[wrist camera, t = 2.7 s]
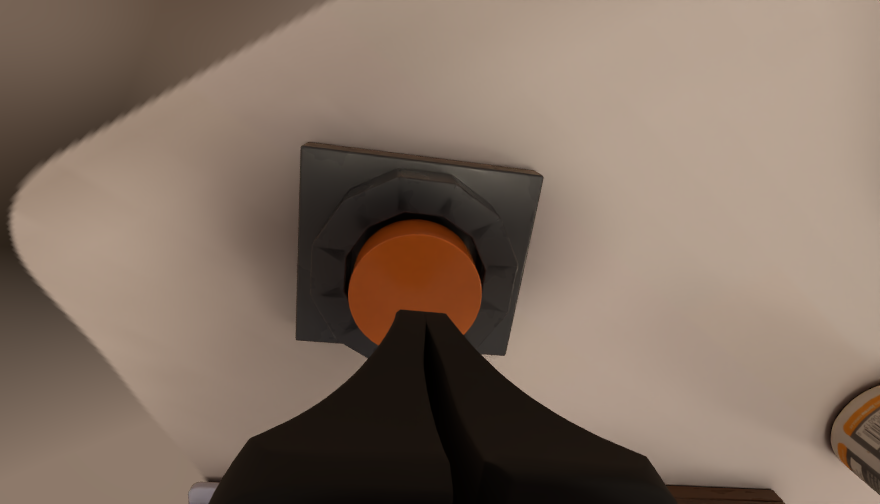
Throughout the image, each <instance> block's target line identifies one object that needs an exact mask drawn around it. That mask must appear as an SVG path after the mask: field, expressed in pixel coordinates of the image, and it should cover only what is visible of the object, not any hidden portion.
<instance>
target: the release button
mask: <svg viewBox="0 0 880 504" xmlns="http://www.w3.org/2000/svg"><path fill="white" fill-rule="evenodd" d="M481 300H482V286H481V280H480V277H479V274H478V271H477V269H476V266H475V264H474V261H473V259H472V256H471V254H470V252H469V250H468V248H467V246H466V245H465V243H464V242H463V241H462V240H461V239H460V237H459V236H458V235H456V234H455V233H454V232H453V231H451V230H450V229H448V228H447V227H445V226H443V225H441V224H438V223H436V222H432V221H428V220H422V219H408V220H402V221H397V222H394V223H391V224H389V225H387V226H385V227H383V228H381V229H380V230H378V231H377V232H375V233H374V234H373V235H372V236H371V237H370V238H369V239H368V240H367V241H366V242H365V243H364V245H363V246H362V248H361V249H360V251H359V254H358V256H357V258H356V262H355V265H354V269H353V272H352V276H351V279H350V283H349V289H348V302H349V308H350V311H351V314H352V317H353V319H354V321H355V323H356V324H357V326H358V327H359V329H360V330H361V331H362V332H363V333H364V335H365V336H366V337H368V338H369V339H370V340H371V341H372V342H374V343H375V344H377V345H380V343H381V342H382V340H383V339H384V337H385V335H386V334H387V332H388V331H389V329H390V327H391V325H392V323H393V321H394V319H395V315H396V312H398V311H399V310H400V309H401V310H413V311H425V312H437V313H446V314H447V315H448V317H449V318H450V319H451V320H452V322H453V323H454V324H455V325H456V327H457V328H458V329H459V330H460V332H461V333H462V334H463V335H464V334H465V333H466V332H467V331H468V330H469V328H470V327H471V326H472V324H473V323H474V321H475V319H476V317H477V315H478V312H479V309H480V305H481Z"/></svg>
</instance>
